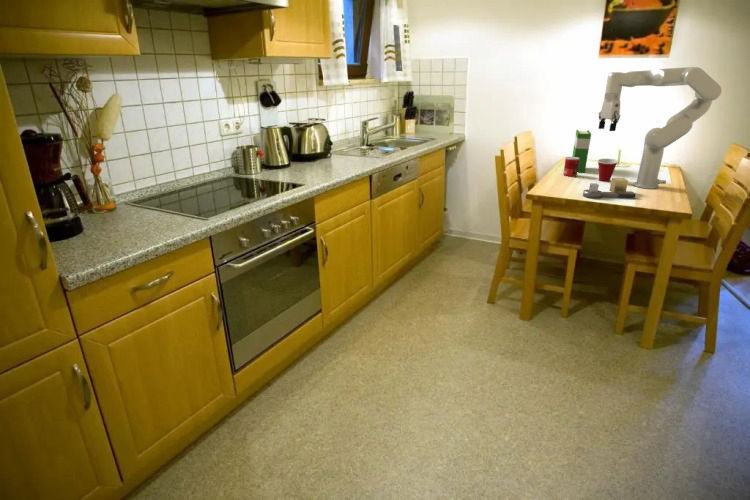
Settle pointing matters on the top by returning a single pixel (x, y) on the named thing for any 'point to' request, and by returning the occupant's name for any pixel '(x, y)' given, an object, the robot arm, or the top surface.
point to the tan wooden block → (618, 184)
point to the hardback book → (581, 148)
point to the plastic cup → (606, 169)
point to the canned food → (571, 166)
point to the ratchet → (606, 193)
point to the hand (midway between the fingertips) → (606, 129)
